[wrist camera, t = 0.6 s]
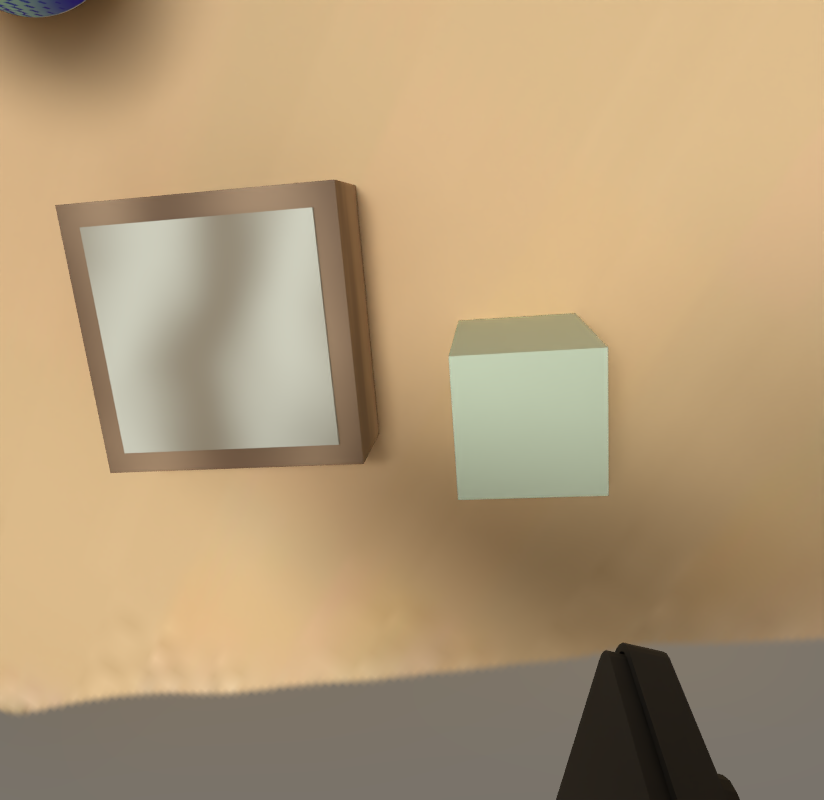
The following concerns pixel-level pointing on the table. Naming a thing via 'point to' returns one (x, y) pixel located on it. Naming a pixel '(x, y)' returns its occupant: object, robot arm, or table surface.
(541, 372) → the green block
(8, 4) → the beer can
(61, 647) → the table surface
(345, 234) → the base block
